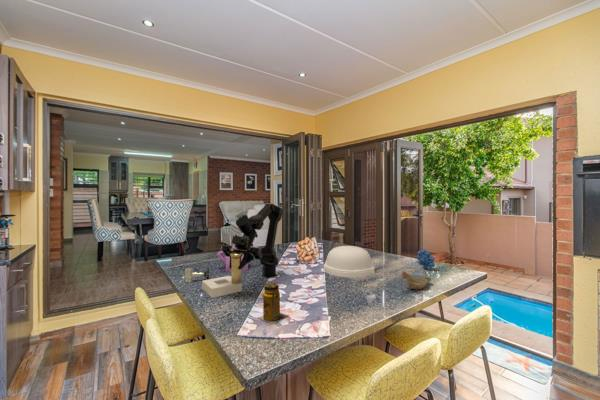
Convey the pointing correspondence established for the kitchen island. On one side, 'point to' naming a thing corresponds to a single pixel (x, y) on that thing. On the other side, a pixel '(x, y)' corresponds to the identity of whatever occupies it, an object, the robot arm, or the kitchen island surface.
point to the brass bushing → (236, 267)
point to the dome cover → (349, 262)
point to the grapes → (425, 259)
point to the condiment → (271, 304)
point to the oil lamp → (415, 281)
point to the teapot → (229, 260)
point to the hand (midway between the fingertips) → (234, 268)
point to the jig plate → (220, 286)
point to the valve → (194, 274)
